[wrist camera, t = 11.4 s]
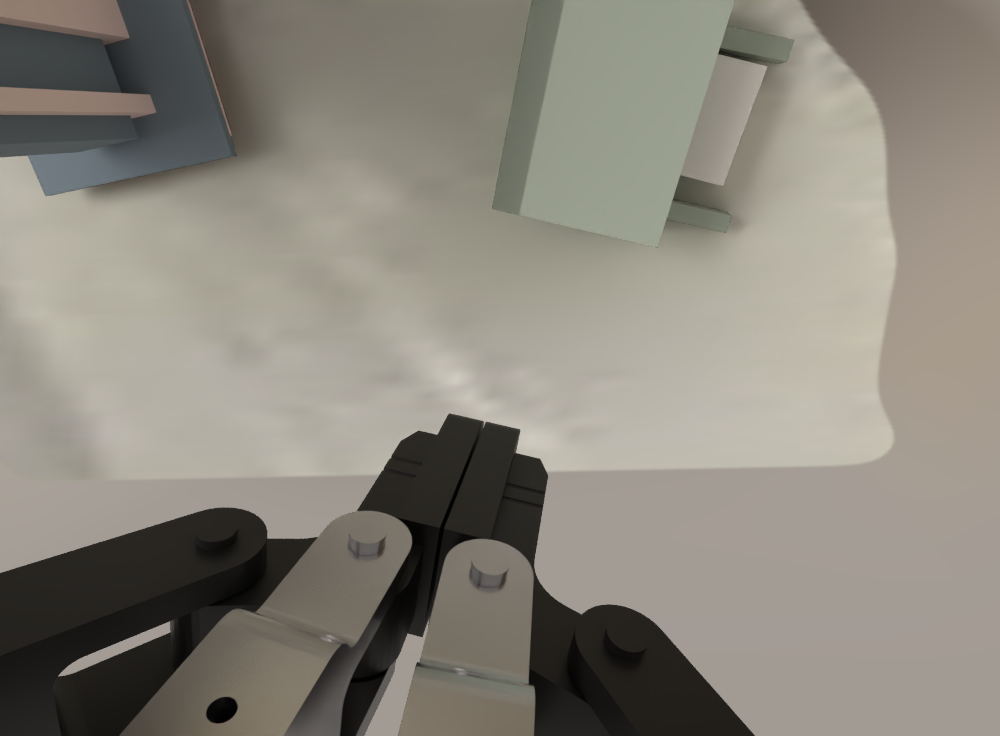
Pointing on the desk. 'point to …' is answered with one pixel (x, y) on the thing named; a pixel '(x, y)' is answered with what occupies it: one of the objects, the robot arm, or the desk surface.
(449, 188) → the desk surface
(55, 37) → the desk lamp
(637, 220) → the shelf
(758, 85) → the cover plate
